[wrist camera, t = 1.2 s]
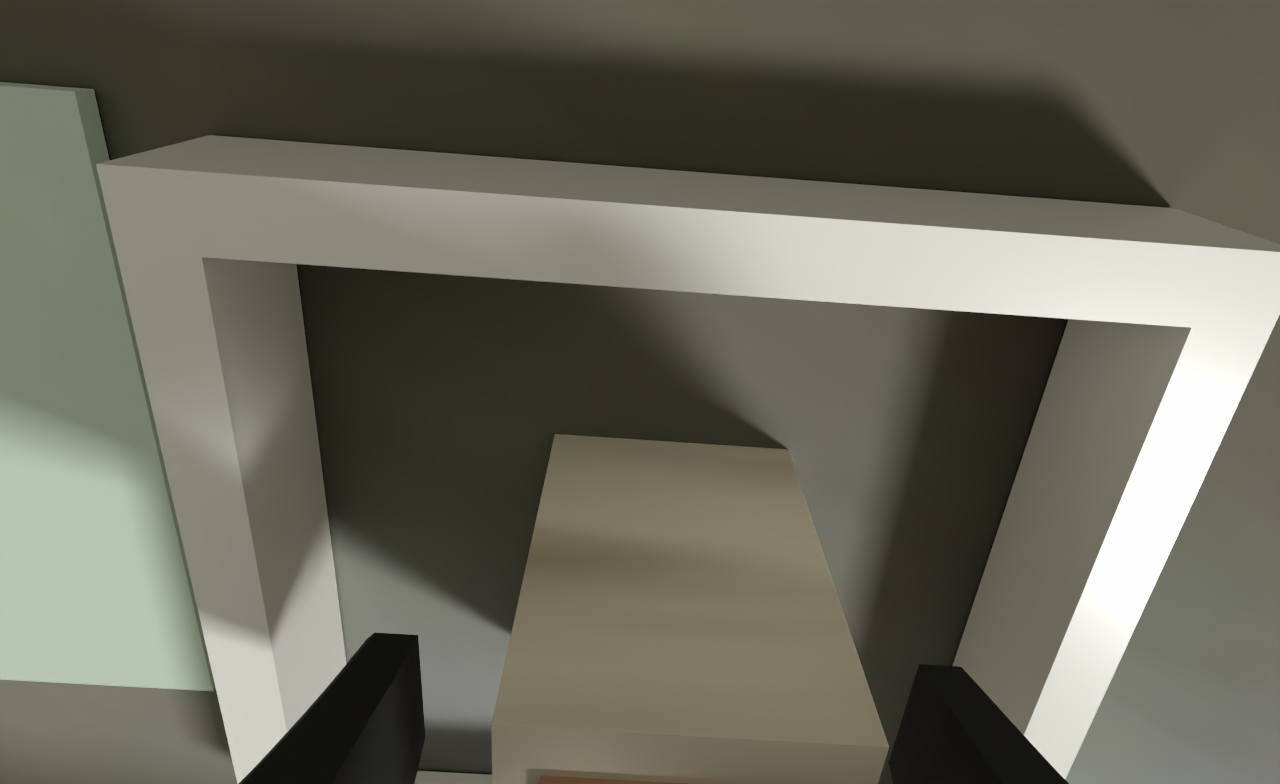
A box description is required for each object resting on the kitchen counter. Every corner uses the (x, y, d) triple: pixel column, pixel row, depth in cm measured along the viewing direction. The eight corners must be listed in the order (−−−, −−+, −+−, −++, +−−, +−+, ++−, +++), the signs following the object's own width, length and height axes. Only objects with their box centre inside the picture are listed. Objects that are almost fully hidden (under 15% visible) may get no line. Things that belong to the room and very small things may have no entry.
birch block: (749, 665, 15) (808, 1030, 10) (548, 653, 15) (494, 1015, 10) (788, 448, 13) (894, 759, 8) (554, 433, 13) (488, 737, 7)
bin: (941, 828, 17) (987, 949, 15) (317, 796, 17) (267, 915, 15) (1174, 207, 11) (1306, 254, 9) (209, 135, 11) (95, 164, 9)
